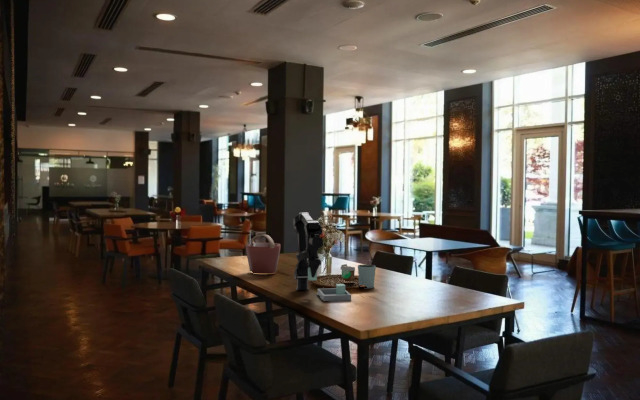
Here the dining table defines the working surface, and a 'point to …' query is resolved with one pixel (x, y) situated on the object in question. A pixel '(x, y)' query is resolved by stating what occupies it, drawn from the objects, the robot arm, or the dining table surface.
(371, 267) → the grey green cylinder
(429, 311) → the dining table surface
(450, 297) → the dining table surface
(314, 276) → the block
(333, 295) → the tray
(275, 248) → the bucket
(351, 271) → the food container
